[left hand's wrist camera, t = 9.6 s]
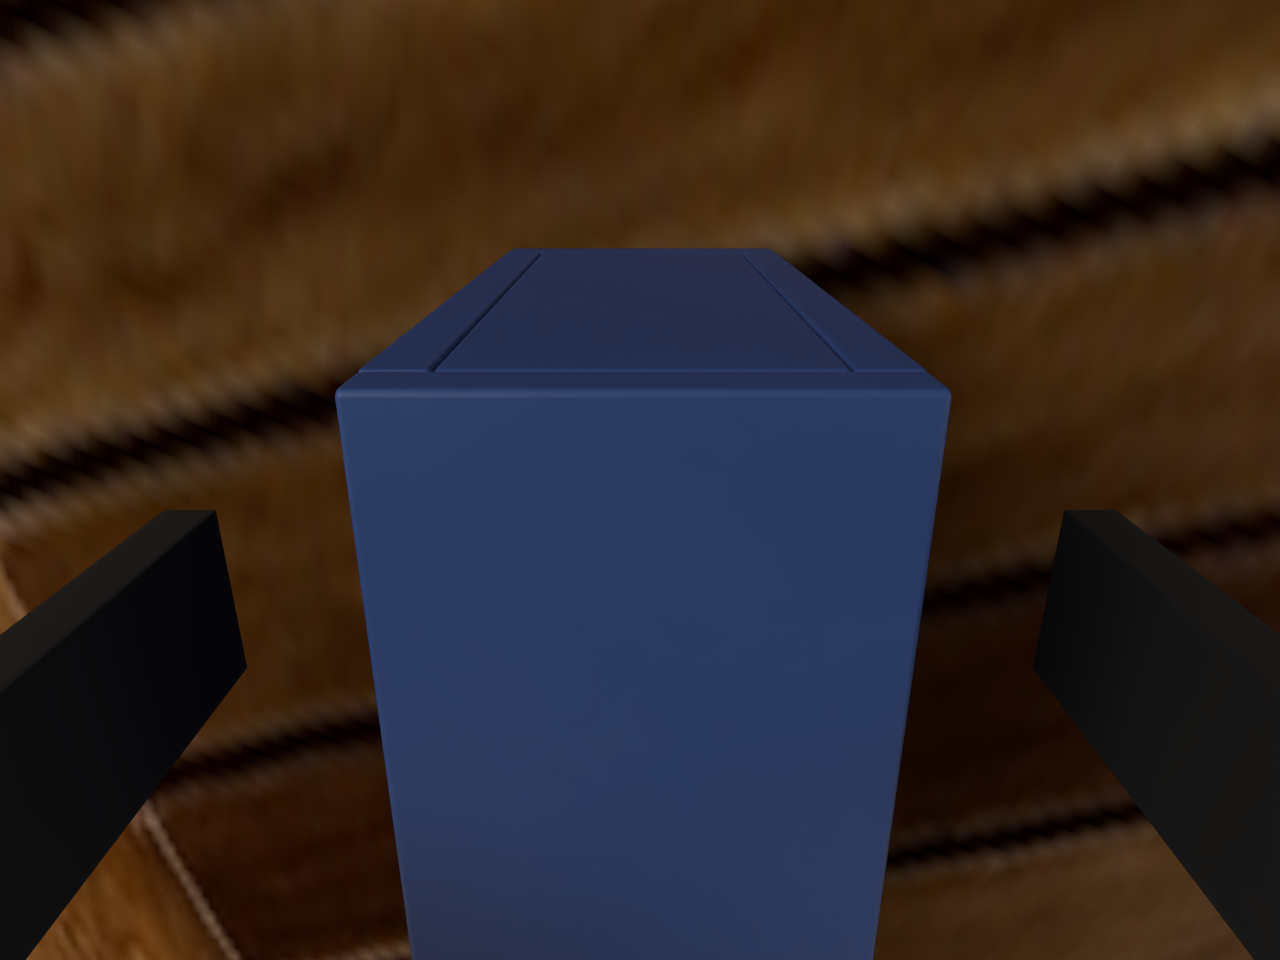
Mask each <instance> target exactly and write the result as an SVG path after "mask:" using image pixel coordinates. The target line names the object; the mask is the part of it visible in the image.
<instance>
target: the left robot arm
mask: <svg viewBox="0 0 1280 960" xmlns="http://www.w3.org/2000/svg"><path fill="white" fill-rule="evenodd" d="M246 668H247V665H246V660H245V655H244V650H243V645H242V640H241V635H240V630H239V625H238V620H237V615H236V610H235V605H234V600H233V595H232V590H231V585H230V580H229V575H228V570H227V565H226V560H225V555H224V550H223V545H222V540H221V535H220V530H219V525H218V520H217V515H216V510H164V511H163V512H161V513H160V514H159V515H158V516H156V517H155V518H154V519H152V520H151V521H150V522H148V523H147V524H146V525H144V526H143V527H142V528H140V529H139V530H138V531H136V532H135V533H134V534H133V535H131V536H130V537H129V538H127V539H126V540H125V541H123V542H122V543H121V544H119V545H118V546H117V547H115V548H114V549H113V550H111V551H110V552H109V553H107V554H106V555H105V556H104V557H102V558H101V559H100V560H98V561H97V562H96V563H94V564H93V565H92V566H90V567H89V568H88V569H86V570H85V571H84V572H82V573H81V574H80V575H79V576H77V577H76V578H75V579H73V580H72V581H71V582H69V583H68V584H67V585H65V586H64V587H63V588H61V589H60V590H59V591H57V592H56V593H55V594H54V595H52V596H51V597H50V598H48V599H47V600H46V601H44V602H43V603H42V604H40V605H39V606H38V607H36V608H35V609H34V610H32V611H31V612H30V613H28V614H27V615H26V616H25V617H23V618H22V619H21V620H19V621H18V622H17V623H15V624H14V625H13V626H11V627H10V628H9V629H7V630H6V631H5V632H3V633H2V634H1V635H0V960H26V959H27V957H28V956H29V955H30V953H31V952H32V951H33V949H34V948H35V947H36V945H37V944H38V943H39V942H40V940H41V939H42V938H43V936H44V935H45V934H46V932H47V931H48V930H49V928H50V927H51V926H52V924H53V923H54V922H55V920H56V919H57V918H58V916H59V915H60V914H61V912H62V911H63V910H64V909H65V907H66V906H67V905H68V903H69V902H70V901H71V899H72V898H73V897H74V895H75V894H76V893H77V891H78V890H79V889H80V887H81V886H82V885H83V883H84V882H85V881H86V879H87V878H88V877H89V876H90V874H91V873H92V872H93V870H94V869H95V868H96V866H97V865H98V864H99V862H100V861H101V860H102V858H103V857H104V856H105V854H106V853H107V852H108V850H109V849H110V848H111V846H112V845H113V844H114V843H115V841H116V840H117V839H118V837H119V836H120V835H121V833H122V832H123V831H124V829H125V828H126V827H127V825H128V824H129V823H130V821H131V820H132V819H133V817H134V816H135V815H136V814H137V812H138V811H139V810H140V808H141V807H142V806H143V804H144V803H145V802H146V800H147V799H148V798H149V796H150V795H151V794H152V792H153V791H154V790H155V788H156V787H157V786H158V784H159V783H160V782H161V781H162V779H163V778H164V777H165V775H166V774H167V773H168V771H169V770H170V769H171V767H172V766H173V765H174V763H175V762H176V761H177V759H178V758H179V757H180V755H181V754H182V753H183V751H184V750H185V749H186V748H187V746H188V745H189V744H190V742H191V741H192V740H193V738H194V737H195V736H196V734H197V733H198V732H199V730H200V729H201V728H202V726H203V725H204V724H205V722H206V721H207V720H208V718H209V717H210V716H211V715H212V713H213V712H214V711H215V709H216V708H217V707H218V705H219V704H220V703H221V701H222V700H223V699H224V697H225V696H226V695H227V693H228V692H229V691H230V689H231V688H232V687H233V686H234V684H235V683H236V682H237V680H238V679H239V678H240V676H241V675H242V674H243V672H244V671H245V670H246ZM1033 668H1034V670H1035V671H1036V672H1037V674H1038V675H1039V676H1040V678H1041V679H1042V680H1043V682H1044V683H1045V684H1046V685H1047V687H1048V688H1049V689H1050V691H1051V692H1052V693H1053V695H1054V696H1055V697H1056V699H1057V700H1058V701H1059V703H1060V704H1061V705H1062V707H1063V708H1064V709H1065V711H1066V712H1067V713H1068V715H1069V716H1070V717H1071V718H1072V720H1073V721H1074V722H1075V724H1076V725H1077V726H1078V728H1079V729H1080V730H1081V732H1082V733H1083V734H1084V736H1085V737H1086V738H1087V740H1088V741H1089V742H1090V744H1091V745H1092V746H1093V748H1094V749H1095V750H1096V751H1097V753H1098V754H1099V755H1100V757H1101V758H1102V759H1103V761H1104V762H1105V763H1106V765H1107V766H1108V767H1109V769H1110V770H1111V771H1112V773H1113V774H1114V775H1115V777H1116V778H1117V779H1118V780H1119V782H1120V783H1121V784H1122V786H1123V787H1124V788H1125V790H1126V791H1127V792H1128V794H1129V795H1130V796H1131V798H1132V799H1133V800H1134V802H1135V803H1136V804H1137V806H1138V807H1139V808H1140V810H1141V811H1142V812H1143V813H1144V815H1145V816H1146V817H1147V819H1148V820H1149V821H1150V823H1151V824H1152V825H1153V827H1154V828H1155V829H1156V831H1157V832H1158V833H1159V835H1160V836H1161V837H1162V839H1163V840H1164V841H1165V843H1166V844H1167V845H1168V846H1169V848H1170V849H1171V850H1172V852H1173V853H1174V854H1175V856H1176V857H1177V858H1178V860H1179V861H1180V862H1181V864H1182V865H1183V866H1184V868H1185V869H1186V870H1187V872H1188V873H1189V874H1190V875H1191V877H1192V878H1193V879H1194V881H1195V882H1196V883H1197V885H1198V886H1199V887H1200V889H1201V890H1202V891H1203V893H1204V894H1205V895H1206V897H1207V898H1208V899H1209V901H1210V902H1211V903H1212V905H1213V906H1214V907H1215V908H1216V910H1217V911H1218V912H1219V914H1220V915H1221V916H1222V918H1223V919H1224V920H1225V922H1226V923H1227V924H1228V926H1229V927H1230V928H1231V930H1232V931H1233V932H1234V934H1235V935H1236V936H1237V938H1238V939H1239V940H1240V941H1241V943H1242V944H1243V945H1244V947H1245V948H1246V949H1247V951H1248V952H1249V953H1250V955H1251V956H1252V957H1253V959H1254V960H1280V635H1279V634H1278V633H1277V632H1275V631H1274V630H1273V629H1271V628H1270V627H1269V626H1267V625H1266V624H1265V623H1263V622H1262V621H1261V620H1259V619H1258V618H1257V617H1255V616H1254V615H1253V614H1252V613H1250V612H1249V611H1248V610H1246V609H1245V608H1244V607H1242V606H1241V605H1240V604H1238V603H1237V602H1236V601H1234V600H1233V599H1232V598H1230V597H1229V596H1228V595H1227V594H1225V593H1224V592H1223V591H1221V590H1220V589H1219V588H1217V587H1216V586H1215V585H1213V584H1212V583H1211V582H1209V581H1208V580H1207V579H1205V578H1204V577H1203V576H1201V575H1200V574H1199V573H1198V572H1196V571H1195V570H1194V569H1192V568H1191V567H1190V566H1188V565H1187V564H1186V563H1184V562H1183V561H1182V560H1180V559H1179V558H1178V557H1176V556H1175V555H1174V554H1173V553H1171V552H1170V551H1169V550H1167V549H1166V548H1165V547H1163V546H1162V545H1161V544H1159V543H1158V542H1157V541H1155V540H1154V539H1153V538H1151V537H1150V536H1149V535H1148V534H1146V533H1145V532H1144V531H1142V530H1141V529H1140V528H1138V527H1137V526H1136V525H1134V524H1133V523H1132V522H1130V521H1129V520H1128V519H1126V518H1125V517H1124V516H1122V515H1121V514H1120V513H1119V512H1117V511H1116V510H1064V515H1063V520H1062V525H1061V530H1060V535H1059V540H1058V545H1057V550H1056V555H1055V560H1054V565H1053V570H1052V575H1051V580H1050V585H1049V590H1048V595H1047V600H1046V605H1045V610H1044V615H1043V620H1042V625H1041V630H1040V635H1039V640H1038V645H1037V650H1036V655H1035V660H1034V665H1033Z"/></svg>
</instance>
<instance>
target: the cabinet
mask: <svg viewBox="0 0 1280 960" xmlns="http://www.w3.org/2000/svg"><path fill="white" fill-rule="evenodd" d="M951 398H952V396H951V392H950V389H949V388H947V387H946V386H945V385H943V384H942V383H941V382H940V381H938V380H937V379H936V378H934V377H933V376H932V375H931V374H928V373H927V372H926V369H924V368H923V367H922V366H921V365H919V364H918V363H917V362H915V361H914V360H913V359H911V358H910V357H909V356H908V355H906V354H905V353H904V352H902V351H901V350H900V349H899V348H897V347H896V346H895V345H893V344H892V343H891V342H890V341H888V340H887V339H886V338H884V337H883V336H882V335H881V334H879V333H878V332H877V331H875V330H874V329H873V328H872V327H870V326H869V325H868V324H866V323H865V322H864V321H863V320H861V319H860V318H859V317H857V316H856V315H855V314H854V313H852V312H851V311H850V310H848V309H847V308H846V307H845V306H843V305H842V304H841V303H839V302H838V301H837V300H836V299H834V298H833V297H832V296H830V295H829V294H828V293H827V292H825V291H824V290H823V289H821V288H820V287H819V286H818V285H816V284H815V283H814V282H812V281H811V280H810V279H809V278H807V277H806V276H805V275H803V274H802V273H801V272H800V271H798V270H797V269H796V268H794V267H793V266H792V265H791V264H789V263H788V262H787V261H785V260H784V259H783V258H782V257H780V256H779V255H778V254H776V253H775V252H773V251H772V250H770V249H513V250H511V251H510V252H508V253H506V254H505V255H504V256H503V257H501V258H500V259H499V260H498V261H496V262H495V263H494V264H493V265H491V266H490V267H489V268H487V269H486V270H485V271H484V272H482V273H481V274H480V275H479V276H477V277H476V278H475V279H474V280H472V281H471V282H470V283H468V284H467V285H466V286H465V287H463V288H462V289H461V290H460V291H458V292H457V293H456V294H455V295H453V296H452V297H451V298H449V299H448V300H447V301H446V302H444V303H443V304H442V305H441V306H439V307H438V308H437V309H436V310H434V311H433V312H432V313H430V314H429V315H428V316H427V317H425V318H424V319H423V320H422V321H420V322H419V323H418V324H417V325H415V326H414V327H413V328H411V329H410V330H409V331H408V332H406V333H405V334H404V335H403V336H401V337H400V338H399V339H397V340H396V341H395V342H394V343H392V344H391V345H390V346H389V347H387V348H386V349H385V350H384V351H382V352H381V353H380V354H378V355H377V356H376V357H375V358H373V359H372V360H371V361H370V362H368V363H367V364H366V365H365V366H363V367H362V368H361V369H359V372H358V374H356V375H354V376H353V377H352V378H351V379H349V380H348V381H347V382H346V383H344V384H343V385H342V386H341V387H339V388H338V389H337V391H336V395H335V400H336V407H337V415H338V422H339V429H340V437H341V444H342V451H343V458H344V466H345V473H346V480H347V488H348V495H349V502H350V510H351V517H352V524H353V532H354V539H355V546H356V554H357V561H358V568H359V575H360V583H361V590H362V597H363V605H364V612H365V619H366V627H367V634H368V641H369V649H370V656H371V663H372V670H373V678H374V685H375V692H376V700H377V707H378V714H379V722H380V729H381V736H382V744H383V751H384V758H385V766H386V773H387V780H388V787H389V795H390V802H391V809H392V817H393V824H394V831H395V839H396V846H397V853H398V861H399V868H400V875H401V883H402V890H403V897H404V904H405V912H406V919H407V926H408V934H409V941H410V948H411V956H412V960H873V956H874V949H875V942H876V935H877V928H878V921H879V914H880V906H881V899H882V892H883V885H884V878H885V871H886V863H887V856H888V849H889V842H890V835H891V828H892V820H893V813H894V806H895V799H896V792H897V785H898V777H899V770H900V763H901V756H902V749H903V742H904V734H905V727H906V720H907V713H908V706H909V699H910V691H911V684H912V677H913V670H914V663H915V656H916V649H917V641H918V634H919V627H920V620H921V613H922V606H923V598H924V591H925V584H926V577H927V570H928V563H929V555H930V548H931V541H932V534H933V527H934V520H935V512H936V505H937V498H938V491H939V484H940V477H941V469H942V462H943V455H944V448H945V441H946V434H947V426H948V419H949V412H950V405H951Z"/></svg>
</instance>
